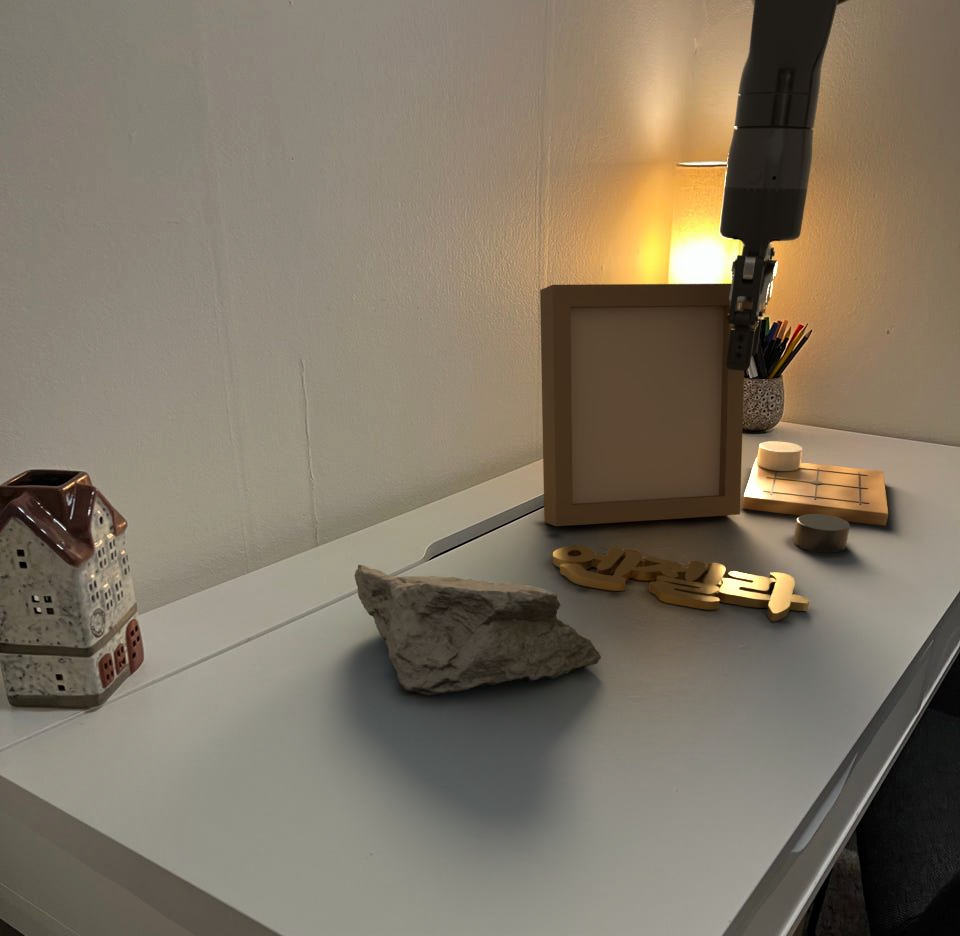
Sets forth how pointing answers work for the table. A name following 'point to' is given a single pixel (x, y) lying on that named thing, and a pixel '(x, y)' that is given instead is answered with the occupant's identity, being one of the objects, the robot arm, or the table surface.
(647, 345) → the photo frame
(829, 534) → the black stone
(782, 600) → the lettering
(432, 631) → the fossil stone
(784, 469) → the white stone
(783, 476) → the game board
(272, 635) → the table surface
